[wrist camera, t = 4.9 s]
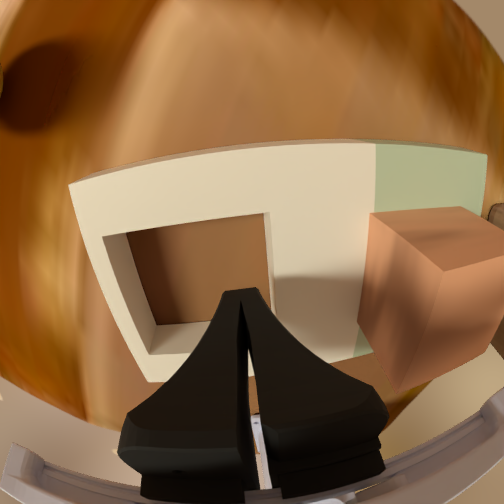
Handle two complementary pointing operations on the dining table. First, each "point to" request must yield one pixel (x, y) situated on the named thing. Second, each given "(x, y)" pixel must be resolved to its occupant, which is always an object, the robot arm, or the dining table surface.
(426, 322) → the block
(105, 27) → the dining table surface
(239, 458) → the robot arm
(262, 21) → the dining table surface
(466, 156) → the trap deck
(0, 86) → the lemon
